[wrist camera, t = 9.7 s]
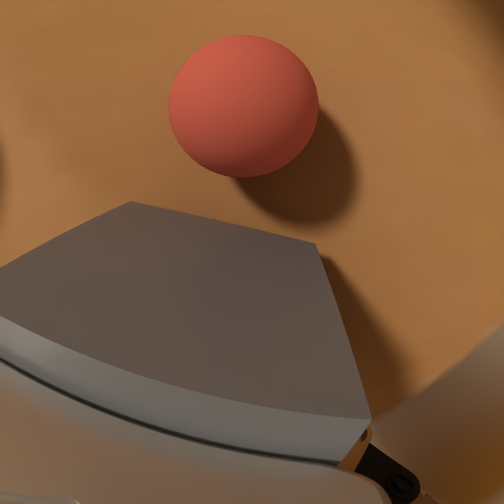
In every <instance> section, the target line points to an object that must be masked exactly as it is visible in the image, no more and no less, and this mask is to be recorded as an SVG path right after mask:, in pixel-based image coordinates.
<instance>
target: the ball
mask: <svg viewBox="0 0 504 504" xmlns="http://www.w3.org/2000/svg"><path fill="white" fill-rule="evenodd" d="M318 109H319V104H318V95H317V90H316V86H315V83H314V81H313V78H312V76H311V74H310V72H309V71H308V69H307V68H306V66H305V65H304V64H303V62H302V61H301V60H300V59H299V58H298V57H297V56H296V55H295V54H294V53H292V52H291V51H290V50H289V49H287V48H286V47H284V46H282V45H280V44H279V43H276V42H274V41H271V40H269V39H265V38H262V37H256V36H232V37H226V38H223V39H219V40H217V41H214V42H212V43H210V44H208V45H206V46H204V47H203V48H201V49H199V50H198V51H197V52H195V53H194V54H193V55H192V56H191V57H190V58H189V59H188V60H187V61H186V62H185V63H184V65H183V66H182V67H181V69H180V70H179V72H178V74H177V76H176V77H175V80H174V82H173V85H172V88H171V92H170V96H169V117H170V123H171V126H172V129H173V132H174V134H175V137H176V139H177V140H178V142H179V144H180V145H181V147H182V148H183V149H184V150H185V152H186V153H187V154H188V155H189V156H190V157H191V158H192V159H193V160H195V161H196V162H197V163H198V164H200V165H201V166H203V167H205V168H207V169H208V170H211V171H213V172H215V173H218V174H222V175H225V176H231V177H242V178H244V177H255V176H261V175H265V174H268V173H271V172H274V171H276V170H278V169H280V168H282V167H283V166H285V165H287V164H288V163H289V162H291V161H292V160H293V159H294V158H296V156H297V155H298V154H299V153H300V152H301V151H302V150H303V149H304V148H305V146H306V145H307V143H308V142H309V140H310V138H311V136H312V135H313V132H314V129H315V127H316V123H317V118H318Z"/></svg>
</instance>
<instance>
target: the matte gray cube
mask: <svg viewBox="0 0 504 504" xmlns="http://www.w3.org/2000/svg"><path fill="white" fill-rule="evenodd" d="M0 360H1V361H3V362H5V363H7V364H9V365H10V366H12V367H14V368H16V369H17V370H19V371H21V372H23V373H24V374H26V375H28V376H30V377H32V378H34V379H36V380H38V381H39V382H41V383H43V384H45V385H47V386H49V387H51V388H53V389H55V390H57V391H60V392H62V393H64V394H66V395H68V396H70V397H73V398H75V399H77V400H79V401H81V402H84V403H86V404H88V405H91V406H93V407H96V408H98V409H100V410H103V411H105V412H108V413H111V414H113V415H116V416H118V417H121V418H124V419H127V420H129V421H132V422H135V423H138V424H141V425H144V426H147V427H150V428H153V429H157V430H160V431H163V432H167V433H170V434H174V435H177V436H181V437H184V438H188V439H192V440H196V441H200V442H204V443H208V444H212V445H217V446H221V447H226V448H231V449H236V450H241V451H246V452H252V453H258V454H264V455H271V456H277V457H284V458H290V459H297V460H305V461H313V462H318V463H324V464H329V465H333V466H338V465H339V464H340V462H341V461H342V460H343V459H344V457H345V456H346V455H347V454H348V452H349V451H350V450H351V448H352V447H353V446H354V444H355V443H356V442H357V440H358V439H359V438H360V436H361V435H362V434H363V432H364V431H365V430H366V428H367V427H368V425H369V424H370V422H371V421H372V416H371V413H370V409H369V406H368V402H367V399H366V395H365V392H364V388H363V385H362V381H361V378H360V375H359V371H358V368H357V365H356V362H355V358H354V355H353V352H352V349H351V346H350V342H349V339H348V336H347V333H346V330H345V327H344V324H343V321H342V318H341V315H340V312H339V309H338V306H337V303H336V300H335V297H334V294H333V291H332V289H331V286H330V283H329V280H328V277H327V274H326V272H325V269H324V266H323V263H322V261H321V258H320V255H319V252H318V250H317V247H316V244H315V243H311V242H307V241H303V240H298V239H294V238H290V237H286V236H282V235H278V234H274V233H269V232H265V231H261V230H257V229H252V228H248V227H244V226H240V225H235V224H231V223H227V222H222V221H218V220H214V219H209V218H205V217H200V216H196V215H191V214H187V213H182V212H178V211H173V210H169V209H164V208H160V207H155V206H150V205H146V204H141V203H136V202H132V201H130V202H128V203H126V204H123V205H121V206H119V207H117V208H115V209H112V210H110V211H108V212H106V213H104V214H102V215H100V216H98V217H95V218H93V219H91V220H89V221H87V222H85V223H83V224H81V225H79V226H77V227H75V228H73V229H71V230H69V231H67V232H65V233H63V234H61V235H59V236H57V237H55V238H54V239H52V240H50V241H48V242H46V243H44V244H42V245H40V246H39V247H37V248H35V249H33V250H31V251H29V252H28V253H26V254H24V255H22V256H20V257H19V258H17V259H15V260H13V261H12V262H10V263H8V264H7V265H5V266H3V267H1V268H0Z"/></svg>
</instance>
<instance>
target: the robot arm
mask: <svg viewBox="0 0 504 504" xmlns="http://www.w3.org/2000/svg"><path fill="white" fill-rule="evenodd" d="M371 437H372V432H371V428H370V427H369V425H368V427H367V428H366V430H365V431H364V432H363V434H362V435H361V436H360V438H359V439H358V440H357V442H356V443H355V444H354V446H353V447H352V448H351V450H350V451H349V452H348V454H347V455H346V456H345V457H344V459H343V460H342V461H341V462H340V464H339V465H338V466H333V465H329V464H324V463H318V462H313V461H305V460H297V459H290V458H284V457H277V456H271V455H264V454H258V453H252V452H246V451H241V450H236V449H231V448H226V447H221V446H217V445H212V444H208V443H204V442H200V441H196V440H192V439H188V438H184V437H181V436H177V435H174V434H170V433H167V432H163V431H160V430H157V429H153V428H150V427H147V426H144V425H141V424H138V423H135V422H132V421H129V420H127V419H124V418H121V417H118V416H116V415H113V414H111V413H108V412H105V411H103V410H100V409H98V408H96V407H93V406H91V405H88V404H86V403H84V402H81V401H79V400H77V399H75V398H73V397H70V396H68V395H66V394H64V393H62V392H60V391H57V390H55V389H53V388H51V387H49V386H47V385H45V384H43V383H41V382H39V381H38V380H36V379H34V378H32V377H30V376H28V375H26V374H24V373H23V372H21V371H19V370H17V369H16V368H14V367H12V366H10V365H9V364H7V363H5V362H3V361H1V360H0V504H439V503H437V502H436V501H435V500H434V499H433V498H432V497H431V496H429V495H428V494H425V495H422V494H421V493H420V483H419V480H418V479H417V477H416V476H415V475H414V474H413V473H412V472H410V471H409V470H407V469H406V468H404V467H403V466H402V465H400V464H399V463H397V462H396V461H394V460H393V459H391V458H390V457H389V456H387V455H386V454H384V453H383V452H382V451H380V450H379V449H377V448H376V447H375V446H373V445H372V444H371V443H370V440H371Z"/></svg>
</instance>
